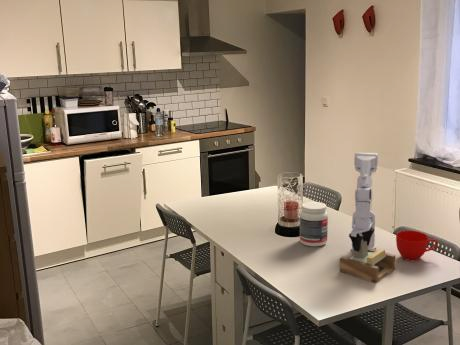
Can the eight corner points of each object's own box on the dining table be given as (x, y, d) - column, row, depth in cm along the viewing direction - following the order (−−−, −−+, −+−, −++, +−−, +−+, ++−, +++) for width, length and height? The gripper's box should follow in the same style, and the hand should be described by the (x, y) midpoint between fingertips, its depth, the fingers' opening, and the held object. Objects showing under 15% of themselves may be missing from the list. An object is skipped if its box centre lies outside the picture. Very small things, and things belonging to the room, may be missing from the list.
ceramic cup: (439, 265, 213) (441, 242, 210) (396, 263, 216) (398, 240, 214) (433, 252, 225) (435, 231, 223) (393, 250, 229) (394, 229, 226)
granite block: (358, 253, 214) (357, 240, 213) (368, 255, 211) (366, 241, 210) (353, 257, 211) (351, 243, 210) (362, 258, 208) (361, 244, 207)
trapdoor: (361, 253, 218) (361, 246, 217) (386, 256, 210) (385, 249, 209) (347, 262, 209) (346, 255, 209) (372, 266, 201) (371, 258, 201)
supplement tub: (329, 247, 234) (330, 209, 230) (301, 248, 235) (301, 209, 230) (325, 237, 247) (325, 200, 242) (298, 237, 247) (298, 201, 243)
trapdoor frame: (359, 258, 222) (360, 245, 220) (394, 268, 211) (395, 255, 209) (339, 271, 210) (339, 257, 208) (375, 282, 199) (376, 268, 198)
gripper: (362, 210, 215) (361, 240, 218) (344, 219, 204) (343, 251, 208) (378, 213, 210) (376, 244, 213) (360, 223, 200) (359, 255, 203)
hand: (361, 248), depth 210 cm, fingers open, 7 cm apart
